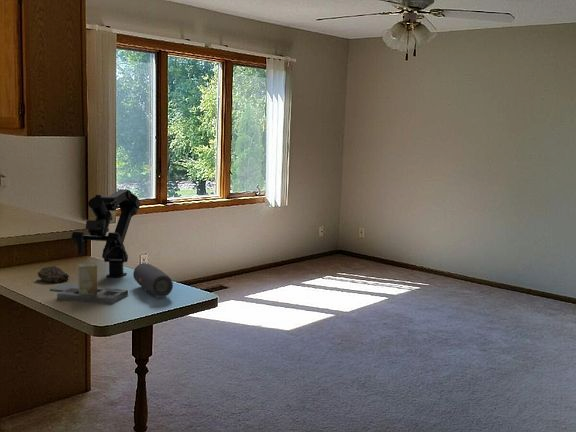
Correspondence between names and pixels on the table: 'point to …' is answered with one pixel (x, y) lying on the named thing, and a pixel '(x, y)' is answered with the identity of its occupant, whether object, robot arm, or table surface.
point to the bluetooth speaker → (153, 280)
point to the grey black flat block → (100, 297)
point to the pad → (63, 287)
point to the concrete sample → (52, 274)
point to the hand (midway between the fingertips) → (91, 257)
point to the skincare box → (87, 278)
